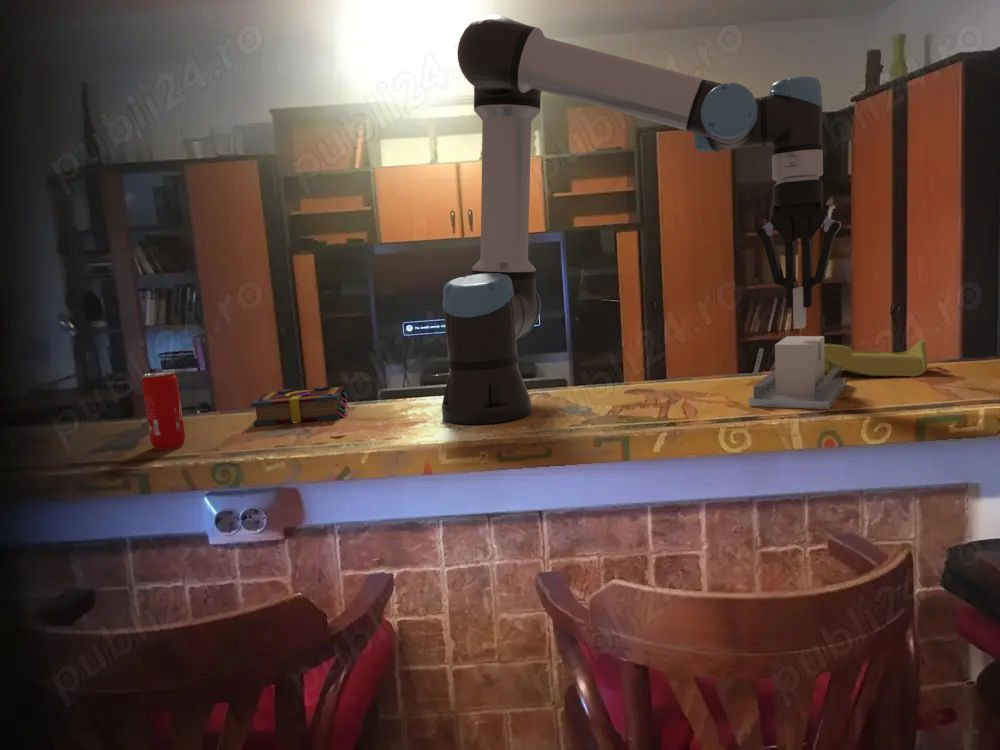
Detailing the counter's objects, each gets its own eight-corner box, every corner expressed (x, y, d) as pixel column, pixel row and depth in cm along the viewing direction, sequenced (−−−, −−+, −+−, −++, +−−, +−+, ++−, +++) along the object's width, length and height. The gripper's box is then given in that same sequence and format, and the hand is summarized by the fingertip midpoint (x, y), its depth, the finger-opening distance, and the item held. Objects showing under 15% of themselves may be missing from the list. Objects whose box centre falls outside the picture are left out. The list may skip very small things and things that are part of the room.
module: (775, 393, 128) (774, 344, 127) (787, 382, 137) (786, 336, 135) (815, 394, 125) (814, 344, 124) (824, 382, 134) (824, 336, 132)
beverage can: (155, 444, 129) (144, 373, 127) (188, 440, 131) (178, 369, 129) (149, 452, 124) (137, 377, 122) (183, 448, 126) (173, 374, 124)
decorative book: (268, 414, 149) (265, 389, 148) (353, 407, 150) (350, 382, 149) (253, 428, 138) (250, 400, 137) (346, 420, 139) (343, 392, 138)
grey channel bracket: (748, 406, 126) (748, 386, 125) (775, 382, 143) (774, 365, 142) (829, 409, 120) (829, 388, 119) (846, 384, 137) (846, 366, 136)
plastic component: (908, 353, 150) (926, 336, 140) (910, 391, 148) (929, 376, 138) (799, 350, 154) (809, 333, 144) (799, 387, 152) (810, 372, 142)
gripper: (750, 184, 126) (754, 330, 129) (838, 175, 119) (839, 329, 123) (760, 185, 132) (764, 325, 136) (844, 176, 125) (845, 324, 129)
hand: (799, 327), depth 129 cm, fingers closed
